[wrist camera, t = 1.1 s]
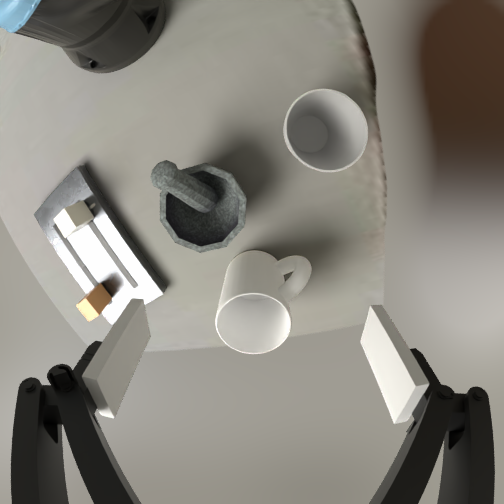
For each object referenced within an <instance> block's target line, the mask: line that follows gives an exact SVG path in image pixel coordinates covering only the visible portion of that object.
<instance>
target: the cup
mask: <svg viewBox="0 0 504 504" xmlns="http://www.w3.org/2000/svg"><path fill="white" fill-rule="evenodd" d="M283 135H284V140H285V143H286V145H287V147H288V149H289V150H290V152H291V153H292V154H293V155H294V156H295V157H296V158H297V159H298V160H299V161H300V162H302V163H303V164H304V165H306V166H307V167H309V168H311V169H314V170H317V171H321V172H337V171H341V170H344V169H346V168H348V167H350V166H351V165H353V164H354V163H355V162H356V161H357V160H358V159H359V158H360V157H361V155H362V154H363V152H364V150H365V147H366V144H367V140H368V127H367V122H366V119H365V116H364V114H363V112H362V110H361V109H360V108H359V106H358V105H357V104H356V103H355V102H354V101H353V100H352V99H351V98H350V97H348V96H347V95H345V94H343V93H341V92H338V91H335V90H331V89H316V90H312V91H309V92H306V93H304V94H303V95H301V96H300V97H298V98H297V99H296V100H295V101H294V102H293V104H292V105H291V106H290V108H289V110H288V112H287V115H286V118H285V121H284V125H283Z"/></svg>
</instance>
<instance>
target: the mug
mask: <svg viewBox="0 0 504 504" xmlns="http://www.w3.org/2000/svg"><path fill="white" fill-rule="evenodd" d="M293 271H294V272H293ZM311 271H312V268H311V265H310V262H309V261H308V260H307V259H306V258H305V257H303V256H298V255H293V256H288V257H285V258H283V259H281V260H279V261H277V260H276V259H275V258H274V257H273V256H272V255H270V254H268V253H266V252H263V251H257V250H252V251H246V252H243V253H241V254H239V255H237V256H236V257H235V258H234V259H233V260H232V261H231V262H230V264H229V265H228V268H227V271H226V275H225V279H224V284H223V288H222V292H221V297H220V301H219V305H218V310H217V314H216V319H215V324H216V329H217V332H218V334H219V336H220V338H221V339H222V340H223V341H224V343H226V344H227V345H228V346H229V347H231V348H233V349H234V350H237V351H239V352H243V353H247V354H259V353H265V352H269V351H270V350H273V349H275V348H276V347H278V346H280V345H281V344H282V343H283V342H284V341H285V339H286V338H287V336H288V335H289V332H290V330H291V325H292V320H291V313H290V308H289V302H290V301H291V300H292V299H294V298H295V297H296V296H297V295H298V294H299V293H300V292H301V291H302V290H303V288H304V287H305V286H306V284H307V283H308V281H309V278H310V275H311ZM289 272H293V273H292V275H291V276H290V277H289V279H288V280H287V281H286V282H285V280H284V275H285V274H287V273H289Z"/></svg>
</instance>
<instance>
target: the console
mask: <svg viewBox="0 0 504 504" xmlns="http://www.w3.org/2000/svg"><path fill="white" fill-rule="evenodd" d="M82 200H83V201H84V202H85V204H86V205H87V207H88V208H89V210H90V212H91V213H92V215H93V216H94V218H93V219H92V220H91V221H90V222H89V223H88V224H87V225H85V226H84V227H83V228H82V229H80V230H78V231H76V232H75V233H73V234H71V235H70V236H68V237H66V238H65V237H64V236H63V234H62V233H61V231H60V229H59V228H58V226H57V225H56V223H55V221H54V220H53V219H54V218H55V217H56V216H57V215H58V214H59V213H60V212H61V211H62V210H63V209H64V208H65V207H68V206H70V205H73V204H75V203H77V202H80V201H82ZM34 216H35V218H36V219H37V221H38V223H39V225H40V226H41V228H42V230H43V231H44V233H45V234H46V236H47V238H48V239H49V241H50V242H51V244H52V246H53V247H54V249H55V250H56V252H57V253H58V255H59V256H60V258H61V259H62V261H63V262H64V264H65V265H66V267H67V268H68V269H69V271H70V272H71V274H72V275H73V277H74V278H75V279H76V281H77V282H78V283H79V285H80V286H81V287H82V289H83V290H84V291H85V293H86V294H88V293H89V292H90V291H91V290H92V289H93V288H94V287H96V286H97V285H98V284H100V283H101V284H102V285H103V287H104V288H105V289H106V291H107V292H108V293H109V295H110V296H111V297H112V298H113V299H112V300H111V301H110V302H109V304H108V305H107V306H106V307H105V308H104V310H103V311H102V312H101V313H102V314H103V316H104V317H105V318H106V319H107V321H108V322H109V323H110V324H113V323H115V322H116V321H117V319H118V318H119V316H120V315H121V313H122V312H123V310H124V309H125V307H126V306H127V304H128V303H129V301H130V300H131V298H138V299H144V304H147V303H149V302H150V301H152V300H154V299H156V298H157V297H159V296H161V295H162V294H164V292H165V290H166V288H167V287H166V285H165V284H164V283H163V282H162V280H161V279H160V278H159V276H158V275H157V274H156V272H155V271H154V270H153V268H152V267H151V265H150V264H149V263H148V261H147V260H146V259H145V257H144V256H143V254H142V253H141V252H140V250H139V249H138V247H137V246H136V245H135V243H134V242H133V240H132V239H131V237H130V236H129V235H128V233H127V232H126V230H125V229H124V227H123V226H122V224H121V223H120V221H119V220H118V218H117V217H116V215H115V214H114V212H113V211H112V209H111V208H110V206H109V205H108V203H107V202H106V200H105V198H104V197H103V195H102V194H101V192H100V191H99V189H98V187H97V186H96V184H95V183H94V181H93V179H92V178H91V176H90V174H89V173H88V171H87V169H86V168H85V166H79V167H76V168H75V169H74V170H73V171H72V172H71V173H70V174H69V175H68V176H67V177H66V179H65V180H64V181H63V182H62V183H61V184H60V185H59V186H58V187H57V188H56V189H55V190H54V192H53V193H52V194H51V195H50V196H49V197H48V198H47V199H46V201H45V202H44V203H43V204H42V205H41V206H40V208H39V209H38V210H37V211H36V212H35V214H34Z"/></svg>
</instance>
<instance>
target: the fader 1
mask: <svg viewBox="0 0 504 504" xmlns="http://www.w3.org/2000/svg"><path fill="white" fill-rule="evenodd" d="M93 218H94V216H93V215H92V213H91V212H90V210H89V208H88V207H87V205H86V204H85V202H84V201H83V200H82V201H80V202H77V203H75V204H73V205H70V206H68V207H65V208H64V209H63V210H62V211H61V212H60V213H59V214H58V215H57V216H56V217H55V218H54V219H53V220H54V221H55V223H56V225H57V226H58V228H59V229H60V231H61V233H62V234H63V236H64V237H65V238H66V237H68V236H70V235H71V234H73V233H75V232H76V231H78V230H80V229H82V228H83V227H84V226H85V225H87V224H88V223H89V222H90V221H91V220H92V219H93Z"/></svg>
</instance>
